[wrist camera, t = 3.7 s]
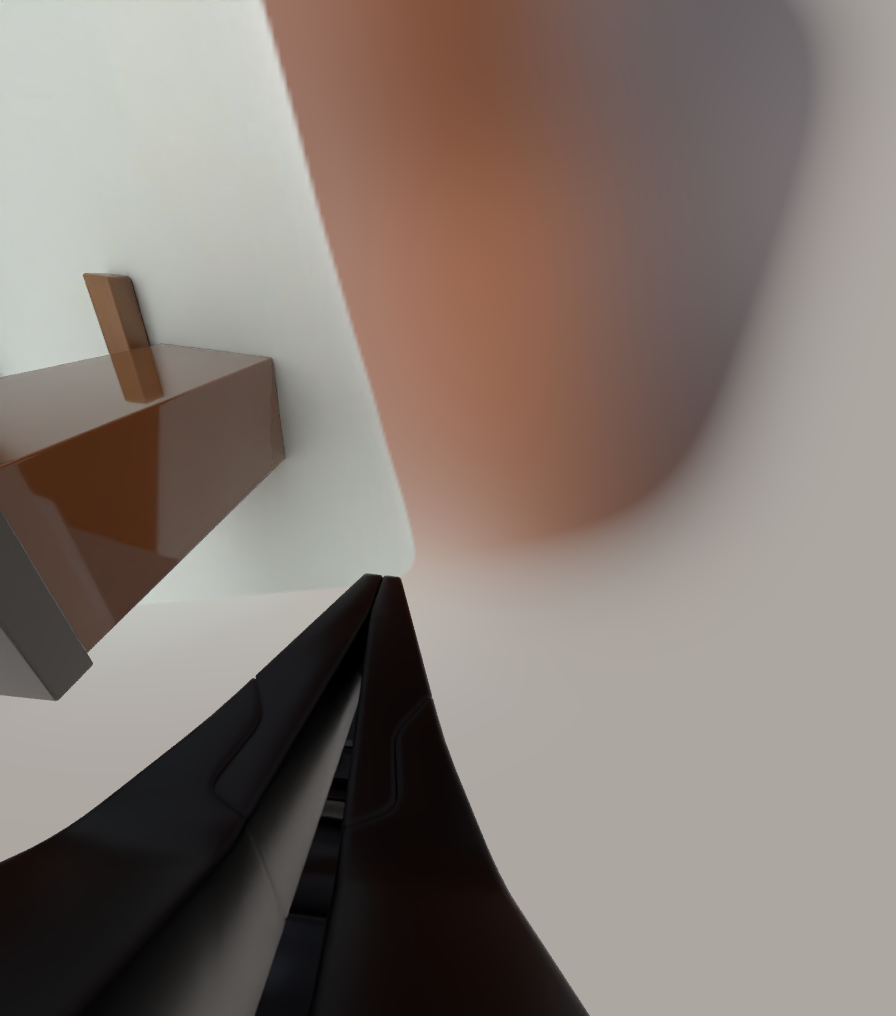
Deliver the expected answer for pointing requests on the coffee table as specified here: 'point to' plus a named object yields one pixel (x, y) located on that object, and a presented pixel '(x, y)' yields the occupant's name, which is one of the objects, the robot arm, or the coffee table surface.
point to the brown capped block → (116, 491)
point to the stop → (116, 311)
